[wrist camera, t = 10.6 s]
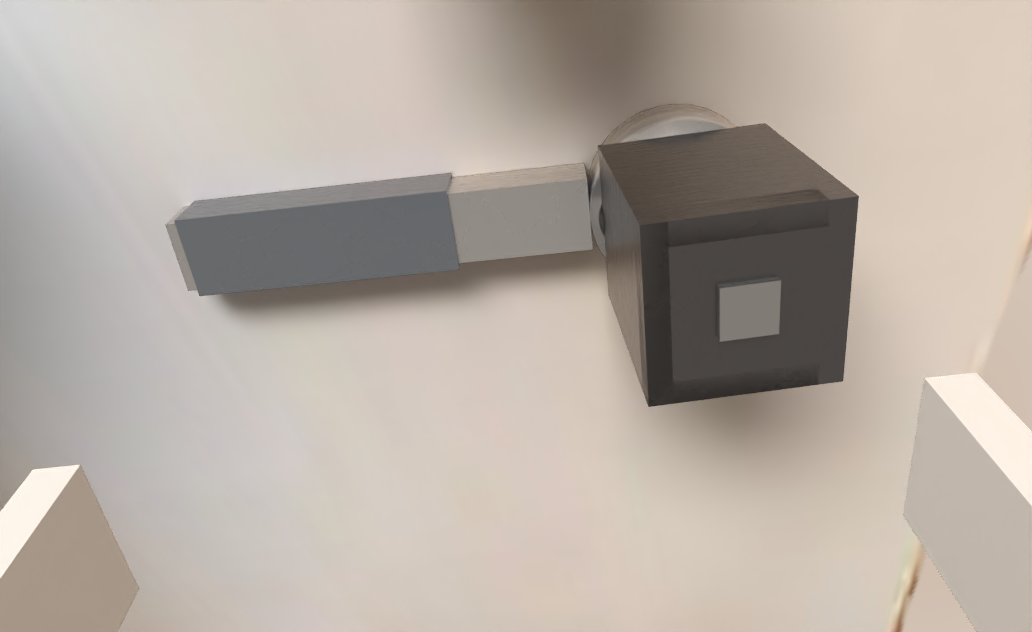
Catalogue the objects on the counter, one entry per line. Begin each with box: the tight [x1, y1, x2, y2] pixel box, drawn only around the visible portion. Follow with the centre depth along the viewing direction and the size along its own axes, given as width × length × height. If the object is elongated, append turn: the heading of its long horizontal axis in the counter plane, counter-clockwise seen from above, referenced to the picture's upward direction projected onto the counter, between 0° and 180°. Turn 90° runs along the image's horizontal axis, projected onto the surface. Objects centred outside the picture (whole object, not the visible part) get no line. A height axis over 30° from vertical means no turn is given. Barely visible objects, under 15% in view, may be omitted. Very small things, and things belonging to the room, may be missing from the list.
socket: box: [598, 123, 859, 407], centre depth 28 cm, size 6×6×8 cm
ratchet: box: [165, 104, 735, 296], centre depth 31 cm, size 24×7×6 cm, turn 97°
